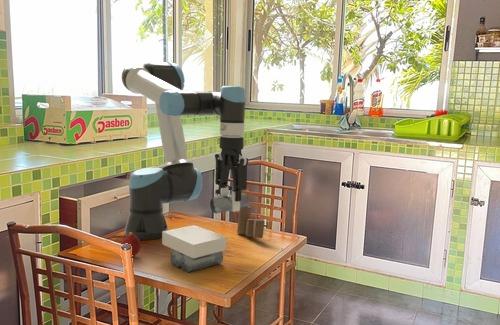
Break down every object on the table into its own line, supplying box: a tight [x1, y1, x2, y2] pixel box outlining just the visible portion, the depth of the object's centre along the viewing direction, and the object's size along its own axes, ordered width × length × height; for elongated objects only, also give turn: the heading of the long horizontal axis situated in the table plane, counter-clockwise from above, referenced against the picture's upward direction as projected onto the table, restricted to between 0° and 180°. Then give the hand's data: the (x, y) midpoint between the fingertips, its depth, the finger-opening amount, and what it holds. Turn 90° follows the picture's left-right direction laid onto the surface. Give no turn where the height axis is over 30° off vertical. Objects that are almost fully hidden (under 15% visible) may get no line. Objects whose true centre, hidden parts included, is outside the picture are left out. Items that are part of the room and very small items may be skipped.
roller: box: [209, 192, 250, 214], centre depth 153 cm, size 5×12×5 cm, turn 132°
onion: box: [121, 232, 142, 257], centre depth 149 cm, size 6×6×8 cm
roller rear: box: [169, 249, 185, 268], centre depth 146 cm, size 5×12×5 cm
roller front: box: [180, 251, 224, 273], centre depth 142 cm, size 5×12×5 cm, turn 133°
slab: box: [161, 224, 227, 258], centre depth 145 cm, size 16×12×4 cm
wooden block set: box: [236, 205, 265, 239], centre depth 175 cm, size 18×9×10 cm, turn 12°
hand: (229, 209), depth 153 cm, fingers closed on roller, 5 cm apart
